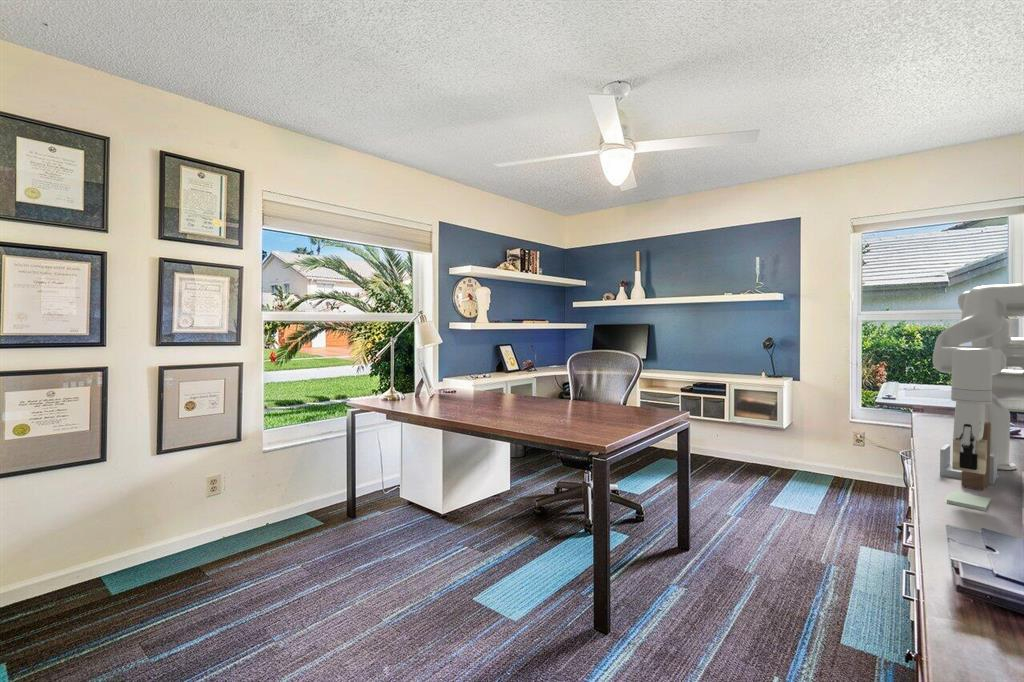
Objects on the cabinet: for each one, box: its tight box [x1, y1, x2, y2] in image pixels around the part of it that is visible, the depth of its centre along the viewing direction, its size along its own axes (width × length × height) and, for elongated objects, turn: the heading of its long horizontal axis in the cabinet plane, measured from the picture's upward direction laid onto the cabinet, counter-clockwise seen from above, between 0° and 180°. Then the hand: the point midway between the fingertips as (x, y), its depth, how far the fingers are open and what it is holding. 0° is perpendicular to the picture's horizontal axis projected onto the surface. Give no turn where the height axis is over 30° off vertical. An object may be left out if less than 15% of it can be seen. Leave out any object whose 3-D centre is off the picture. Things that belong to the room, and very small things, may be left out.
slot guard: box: [939, 443, 998, 485], centre depth 146 cm, size 10×12×8 cm
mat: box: [946, 491, 992, 512], centre depth 124 cm, size 10×7×1 cm
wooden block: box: [960, 422, 991, 491], centre depth 137 cm, size 9×4×18 cm, turn 127°
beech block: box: [951, 437, 987, 474], centre depth 124 cm, size 4×6×8 cm, turn 40°
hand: (969, 466), depth 124 cm, fingers closed on beech block, 4 cm apart
